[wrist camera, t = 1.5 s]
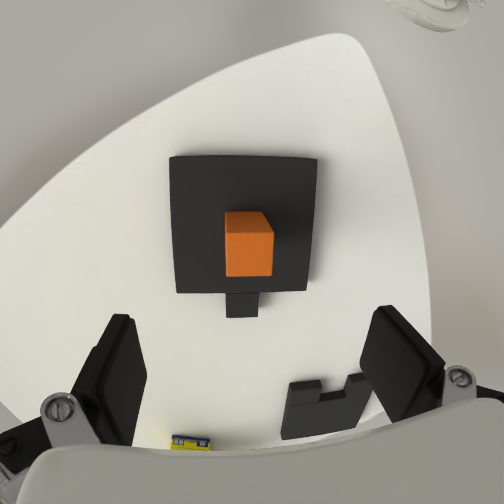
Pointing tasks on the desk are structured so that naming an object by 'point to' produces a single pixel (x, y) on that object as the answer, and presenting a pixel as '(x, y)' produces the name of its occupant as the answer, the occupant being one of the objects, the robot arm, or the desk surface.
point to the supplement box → (189, 444)
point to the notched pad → (324, 407)
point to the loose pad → (240, 193)
